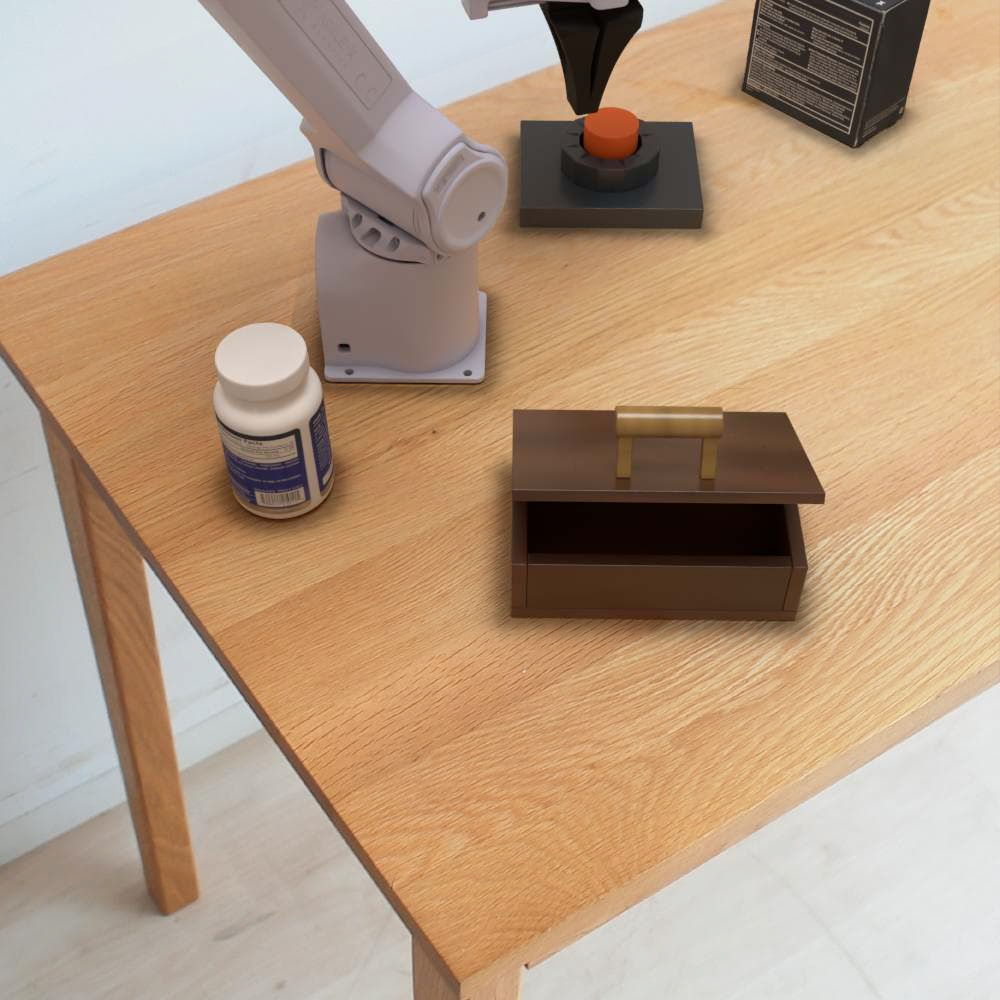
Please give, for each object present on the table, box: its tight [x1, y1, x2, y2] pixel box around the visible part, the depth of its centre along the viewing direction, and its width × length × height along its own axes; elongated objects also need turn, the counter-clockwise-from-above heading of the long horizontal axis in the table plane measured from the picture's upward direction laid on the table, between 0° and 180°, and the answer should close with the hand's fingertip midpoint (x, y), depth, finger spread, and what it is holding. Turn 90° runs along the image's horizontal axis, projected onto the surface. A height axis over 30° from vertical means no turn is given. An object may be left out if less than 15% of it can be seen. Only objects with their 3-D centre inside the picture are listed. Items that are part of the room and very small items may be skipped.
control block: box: [518, 115, 705, 230], centre depth 97 cm, size 12×10×4 cm
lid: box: [511, 405, 827, 505], centre depth 72 cm, size 11×15×4 cm
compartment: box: [510, 500, 809, 621], centre depth 76 cm, size 10×15×4 cm
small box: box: [741, 0, 932, 148], centre depth 101 cm, size 11×6×10 cm, turn 44°
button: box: [583, 106, 639, 159], centre depth 96 cm, size 4×4×2 cm
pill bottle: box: [212, 322, 335, 520], centre depth 77 cm, size 6×6×10 cm
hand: (582, 105), depth 88 cm, fingers closed
